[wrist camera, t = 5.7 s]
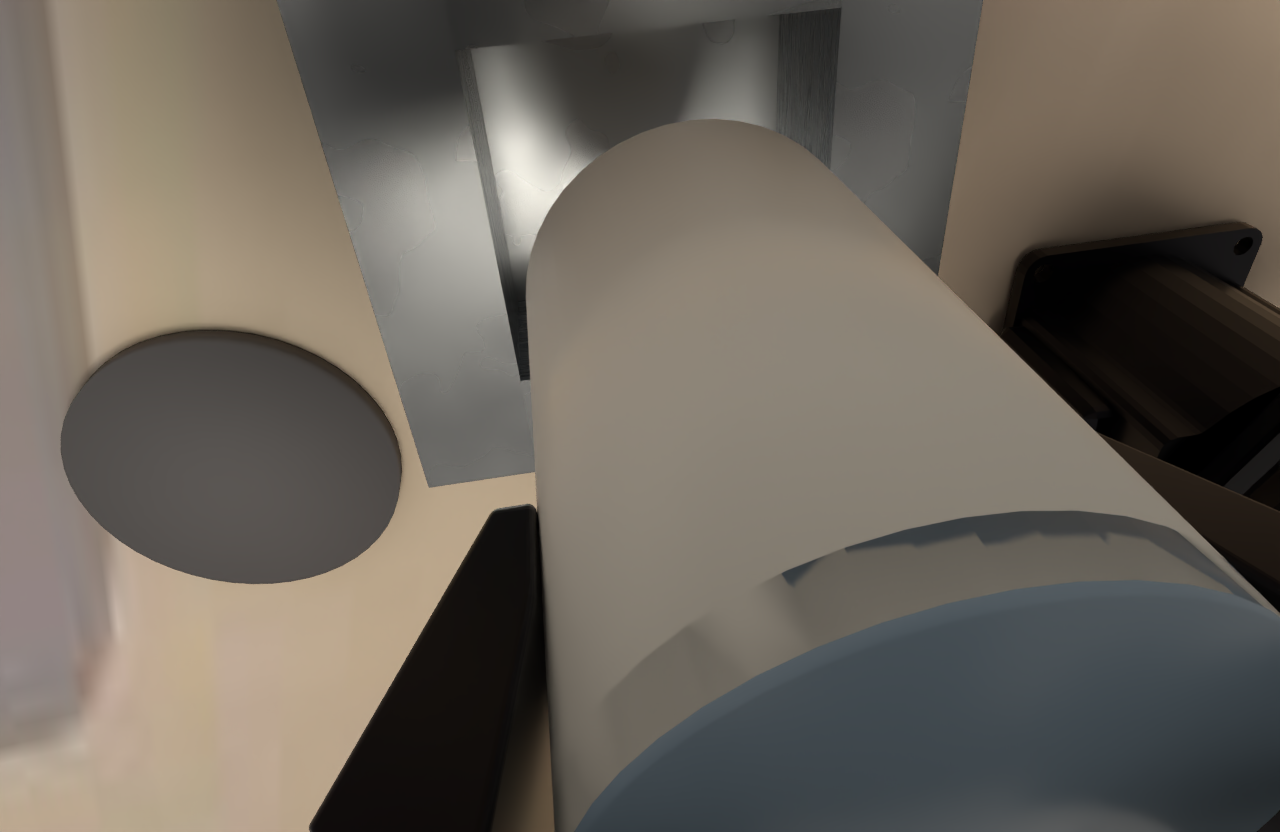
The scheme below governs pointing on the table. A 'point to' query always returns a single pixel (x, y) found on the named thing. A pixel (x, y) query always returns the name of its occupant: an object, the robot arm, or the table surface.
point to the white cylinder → (850, 537)
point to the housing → (587, 152)
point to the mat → (232, 457)
